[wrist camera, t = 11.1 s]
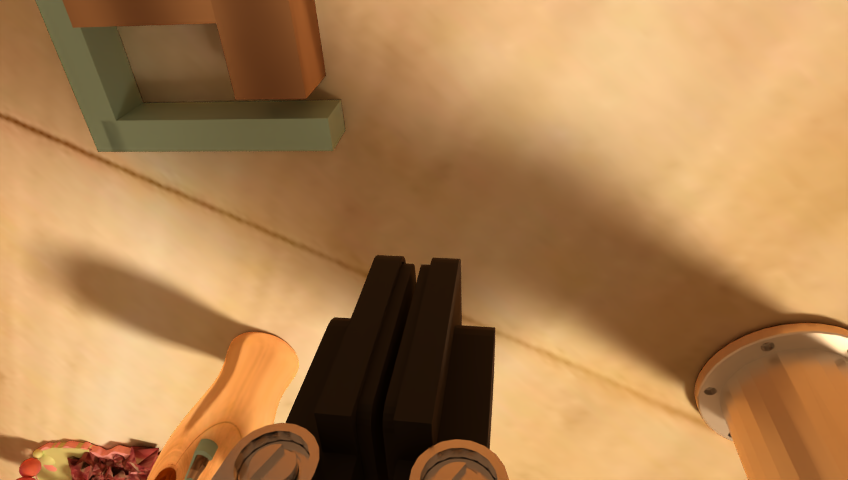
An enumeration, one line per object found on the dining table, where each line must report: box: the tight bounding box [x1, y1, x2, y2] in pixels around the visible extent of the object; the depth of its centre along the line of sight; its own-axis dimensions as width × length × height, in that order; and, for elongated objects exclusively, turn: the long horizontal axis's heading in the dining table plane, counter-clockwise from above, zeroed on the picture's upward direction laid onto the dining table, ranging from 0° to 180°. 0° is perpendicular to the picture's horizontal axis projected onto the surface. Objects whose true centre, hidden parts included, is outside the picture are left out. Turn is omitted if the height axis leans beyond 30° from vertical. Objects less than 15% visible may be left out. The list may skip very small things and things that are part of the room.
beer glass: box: [146, 332, 299, 480], centre depth 42 cm, size 7×7×15 cm
